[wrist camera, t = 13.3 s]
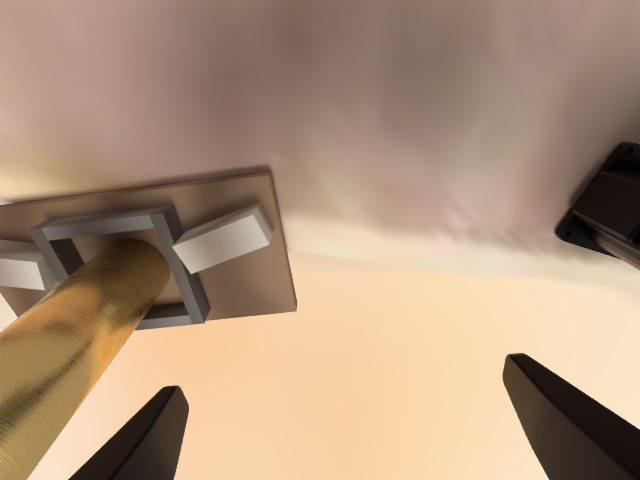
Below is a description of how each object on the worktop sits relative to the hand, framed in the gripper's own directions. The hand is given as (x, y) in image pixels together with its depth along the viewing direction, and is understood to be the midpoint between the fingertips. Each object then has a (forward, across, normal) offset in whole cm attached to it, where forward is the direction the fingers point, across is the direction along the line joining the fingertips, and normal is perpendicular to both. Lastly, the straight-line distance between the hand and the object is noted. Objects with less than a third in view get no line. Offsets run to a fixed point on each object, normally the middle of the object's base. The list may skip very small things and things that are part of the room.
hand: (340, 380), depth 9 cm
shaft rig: (+13, +13, +2) cm, 19 cm away
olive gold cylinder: (+12, +13, +2) cm, 18 cm away
